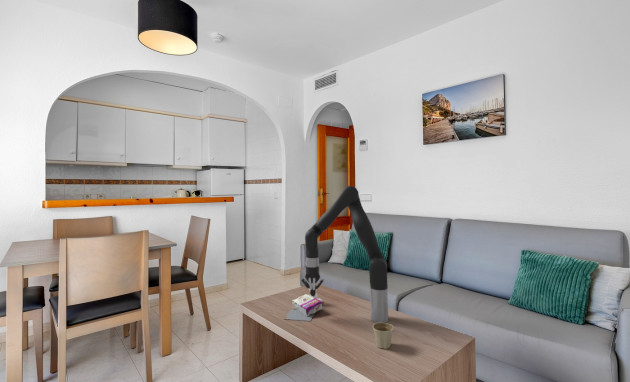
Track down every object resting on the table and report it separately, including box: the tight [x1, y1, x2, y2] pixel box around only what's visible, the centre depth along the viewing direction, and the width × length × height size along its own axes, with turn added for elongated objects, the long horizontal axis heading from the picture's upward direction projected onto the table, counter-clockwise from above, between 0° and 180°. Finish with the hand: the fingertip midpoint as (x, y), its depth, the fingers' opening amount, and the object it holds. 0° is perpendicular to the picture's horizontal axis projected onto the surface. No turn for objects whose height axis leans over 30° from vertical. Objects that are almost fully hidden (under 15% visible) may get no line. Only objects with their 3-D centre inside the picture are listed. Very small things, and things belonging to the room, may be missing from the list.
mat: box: [285, 309, 316, 322], centre depth 178 cm, size 15×13×1 cm
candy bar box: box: [291, 293, 323, 317], centre depth 185 cm, size 11×5×16 cm
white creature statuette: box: [307, 288, 323, 302], centre depth 195 cm, size 10×9×12 cm
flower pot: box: [372, 322, 394, 350], centre depth 143 cm, size 9×9×9 cm
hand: (312, 295), depth 176 cm, fingers closed
